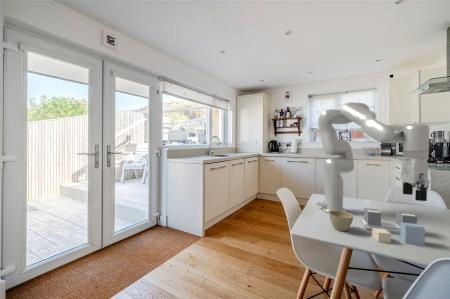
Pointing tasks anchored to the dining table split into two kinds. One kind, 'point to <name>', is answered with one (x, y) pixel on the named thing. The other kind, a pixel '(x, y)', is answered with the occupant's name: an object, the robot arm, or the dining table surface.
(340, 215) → the olive bowl
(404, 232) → the module
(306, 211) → the dining table surface
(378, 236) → the beige cube
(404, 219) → the rail fixture
